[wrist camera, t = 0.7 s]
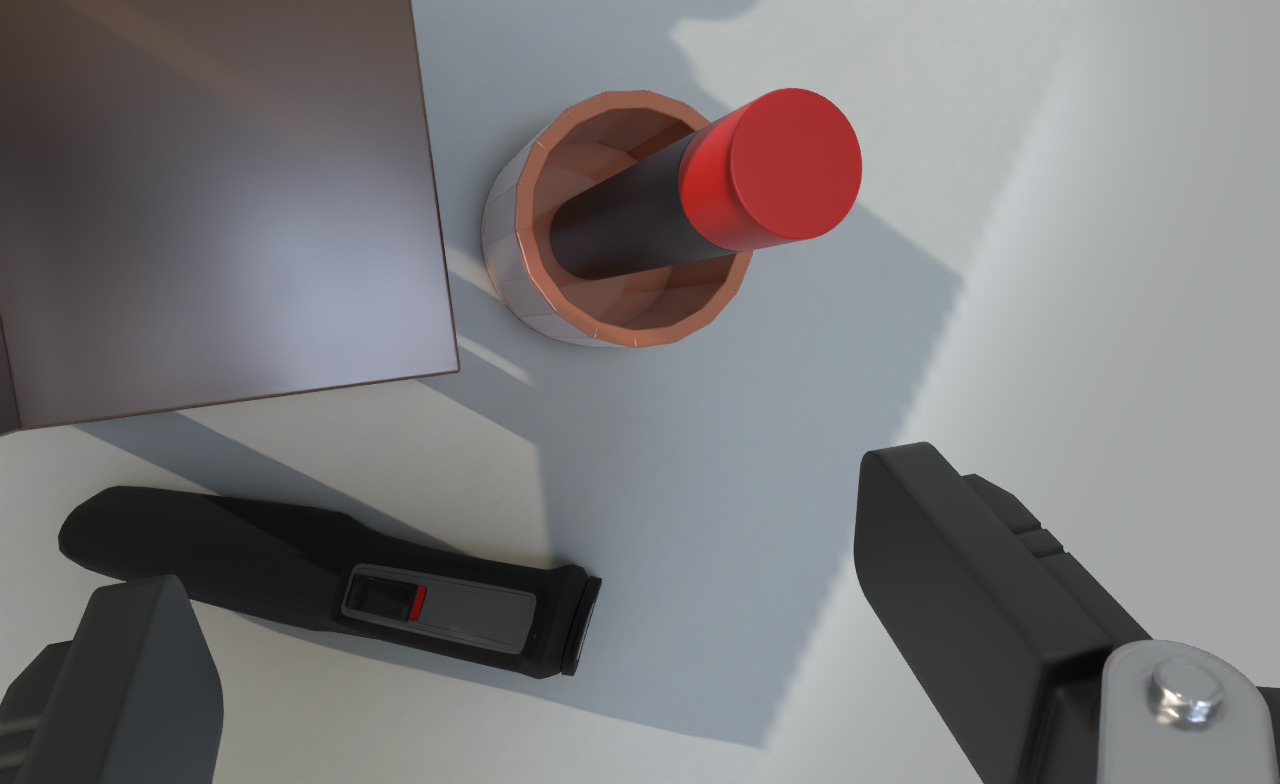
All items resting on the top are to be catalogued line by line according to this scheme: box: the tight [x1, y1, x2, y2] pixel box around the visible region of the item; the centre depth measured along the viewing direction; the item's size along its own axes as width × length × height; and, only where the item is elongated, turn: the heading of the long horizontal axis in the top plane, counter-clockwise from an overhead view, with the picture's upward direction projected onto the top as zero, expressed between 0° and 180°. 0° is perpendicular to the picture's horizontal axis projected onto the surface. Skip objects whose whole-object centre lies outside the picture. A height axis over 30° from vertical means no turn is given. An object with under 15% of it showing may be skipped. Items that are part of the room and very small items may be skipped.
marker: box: [550, 88, 862, 280], centre depth 24 cm, size 3×3×14 cm
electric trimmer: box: [58, 486, 602, 679], centre depth 28 cm, size 4×16×3 cm, turn 73°
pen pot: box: [481, 90, 753, 348], centre depth 28 cm, size 7×7×6 cm
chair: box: [0, 0, 460, 437], centre depth 22 cm, size 11×11×12 cm
